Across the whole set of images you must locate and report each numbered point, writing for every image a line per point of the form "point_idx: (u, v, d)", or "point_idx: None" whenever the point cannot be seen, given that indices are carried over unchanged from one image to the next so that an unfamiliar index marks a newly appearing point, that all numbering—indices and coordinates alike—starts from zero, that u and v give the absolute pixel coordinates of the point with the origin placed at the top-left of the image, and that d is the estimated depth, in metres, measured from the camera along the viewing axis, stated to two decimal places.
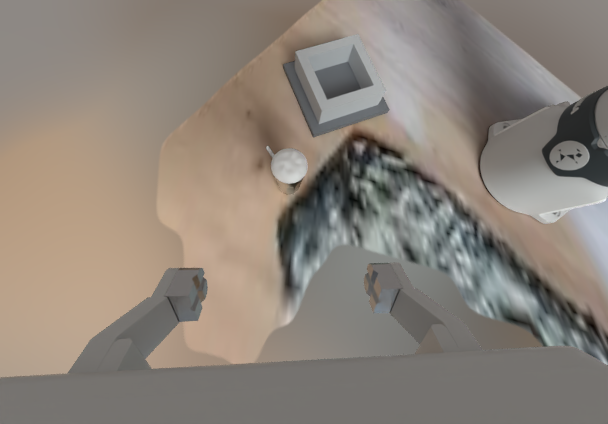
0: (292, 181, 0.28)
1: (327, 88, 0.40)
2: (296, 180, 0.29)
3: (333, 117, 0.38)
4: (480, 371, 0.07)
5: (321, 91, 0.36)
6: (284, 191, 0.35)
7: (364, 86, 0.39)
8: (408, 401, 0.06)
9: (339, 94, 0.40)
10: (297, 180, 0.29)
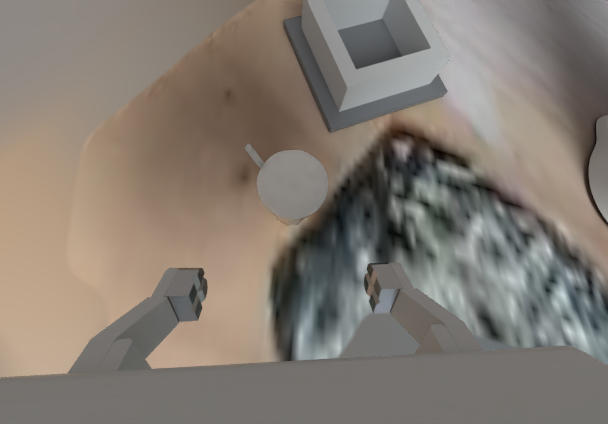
0: (298, 216, 0.14)
1: (351, 57, 0.26)
2: (306, 213, 0.14)
3: (362, 102, 0.24)
4: (480, 371, 0.07)
5: (346, 56, 0.22)
6: (283, 222, 0.21)
7: (410, 54, 0.25)
8: (408, 401, 0.06)
9: None
10: (308, 213, 0.14)
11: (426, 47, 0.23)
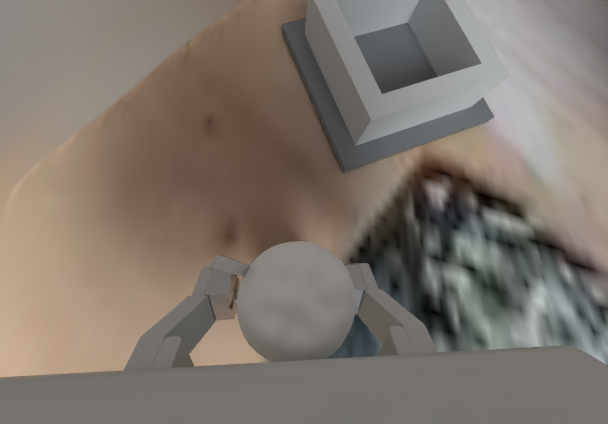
0: None
1: (370, 73, 0.20)
2: None
3: (386, 133, 0.18)
4: (480, 371, 0.07)
5: (368, 75, 0.16)
6: None
7: (447, 69, 0.19)
8: (408, 401, 0.06)
9: (394, 85, 0.20)
10: (324, 357, 0.09)
11: (473, 62, 0.17)
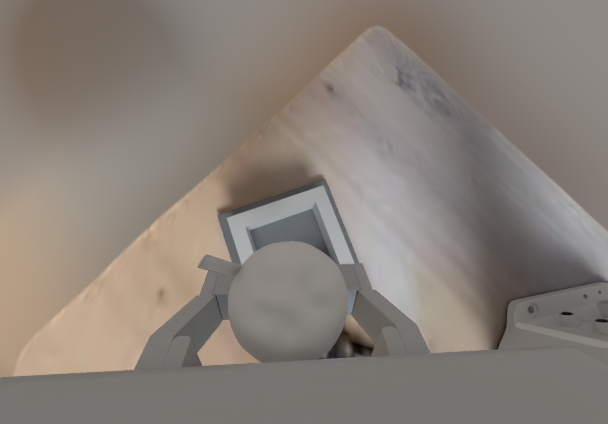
0: None
1: None
2: None
3: None
4: (480, 371, 0.07)
5: None
6: None
7: (332, 256, 0.27)
8: (408, 401, 0.06)
9: None
10: None
11: None
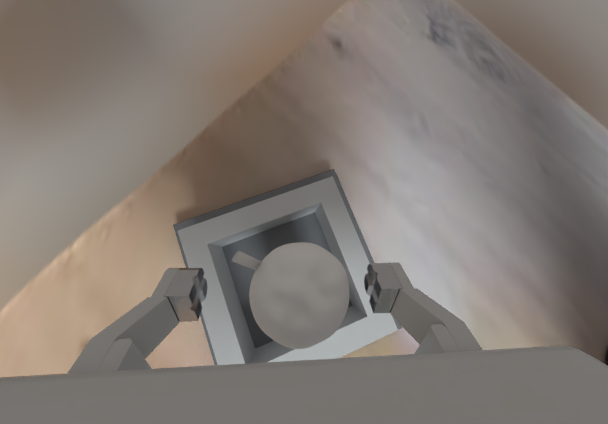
0: (307, 346, 0.10)
1: None
2: (319, 342, 0.10)
3: None
4: (480, 371, 0.07)
5: (234, 345, 0.14)
6: None
7: None
8: (408, 401, 0.06)
9: None
10: (321, 340, 0.10)
11: (362, 307, 0.15)
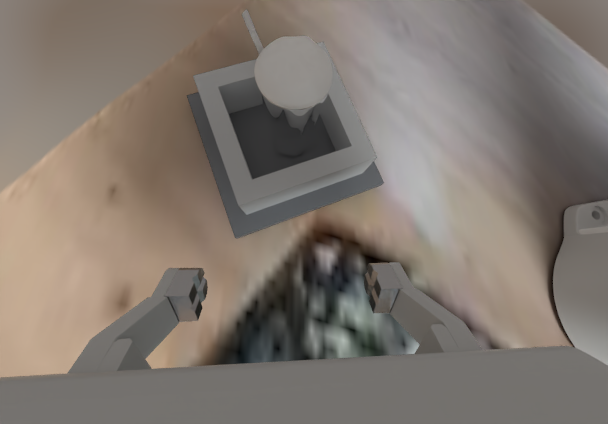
0: (299, 102, 0.13)
1: (268, 142, 0.21)
2: (308, 101, 0.13)
3: (275, 203, 0.20)
4: (480, 371, 0.07)
5: (241, 161, 0.17)
6: (282, 146, 0.19)
7: (336, 141, 0.21)
8: (408, 401, 0.06)
9: None
10: (310, 102, 0.13)
11: (347, 142, 0.18)
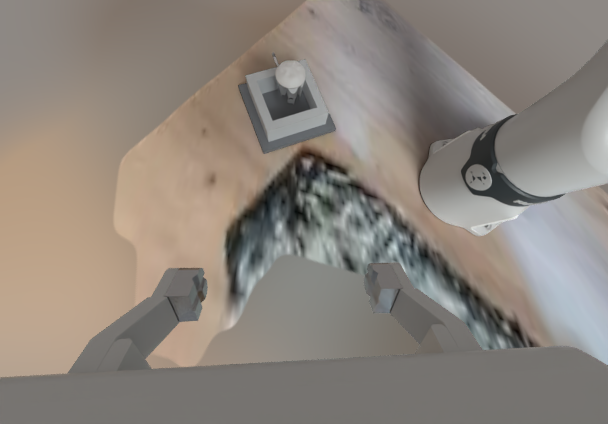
0: (292, 85, 0.35)
1: (278, 108, 0.43)
2: (295, 85, 0.35)
3: (282, 136, 0.41)
4: (480, 371, 0.07)
5: (267, 113, 0.39)
6: (285, 108, 0.41)
7: (312, 107, 0.42)
8: (408, 401, 0.06)
9: None
10: (296, 85, 0.35)
11: (315, 106, 0.40)
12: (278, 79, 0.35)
